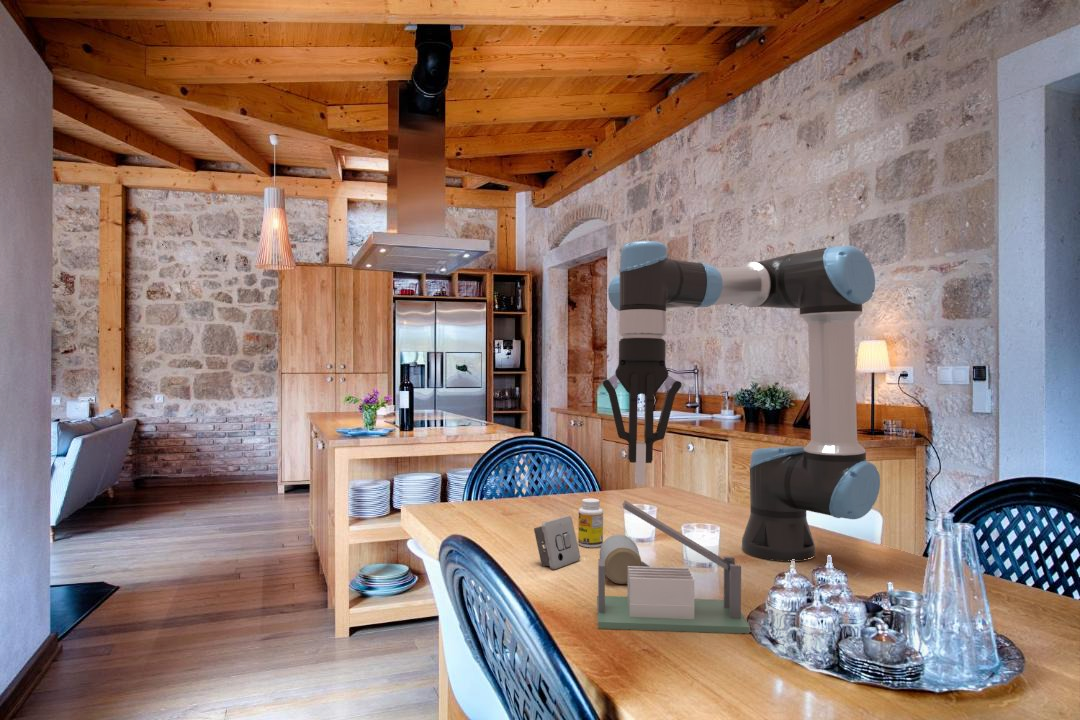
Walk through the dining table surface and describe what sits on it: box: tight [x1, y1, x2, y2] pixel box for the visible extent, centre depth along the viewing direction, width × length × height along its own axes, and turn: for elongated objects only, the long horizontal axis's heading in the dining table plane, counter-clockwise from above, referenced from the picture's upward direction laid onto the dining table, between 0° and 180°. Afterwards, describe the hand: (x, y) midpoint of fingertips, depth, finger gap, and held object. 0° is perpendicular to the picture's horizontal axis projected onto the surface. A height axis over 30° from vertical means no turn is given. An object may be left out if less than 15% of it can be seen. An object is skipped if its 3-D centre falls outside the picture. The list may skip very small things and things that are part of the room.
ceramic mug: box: [599, 534, 651, 585], centre depth 128 cm, size 11×8×8 cm
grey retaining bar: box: [621, 500, 736, 574], centre depth 109 cm, size 21×3×2 cm
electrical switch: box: [533, 515, 581, 570], centre depth 138 cm, size 9×5×9 cm, turn 141°
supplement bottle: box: [577, 497, 604, 549], centre depth 152 cm, size 6×6×10 cm
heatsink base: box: [596, 556, 751, 635], centre depth 109 cm, size 23×12×9 cm, turn 86°
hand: (639, 482), depth 109 cm, fingers closed
